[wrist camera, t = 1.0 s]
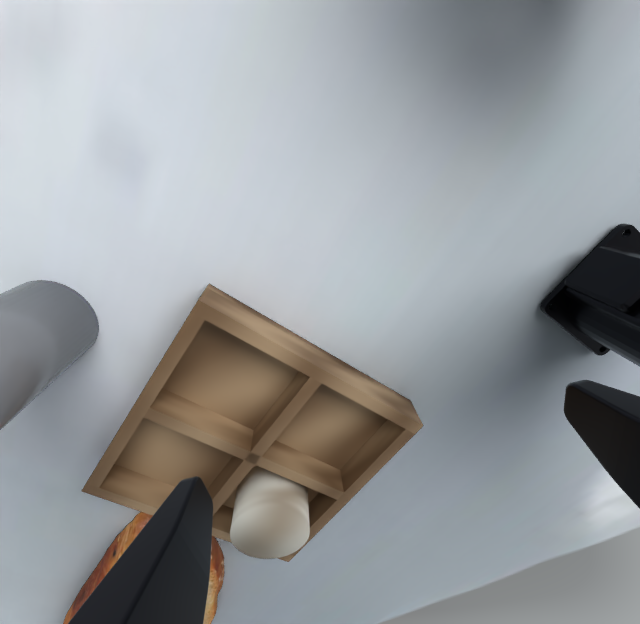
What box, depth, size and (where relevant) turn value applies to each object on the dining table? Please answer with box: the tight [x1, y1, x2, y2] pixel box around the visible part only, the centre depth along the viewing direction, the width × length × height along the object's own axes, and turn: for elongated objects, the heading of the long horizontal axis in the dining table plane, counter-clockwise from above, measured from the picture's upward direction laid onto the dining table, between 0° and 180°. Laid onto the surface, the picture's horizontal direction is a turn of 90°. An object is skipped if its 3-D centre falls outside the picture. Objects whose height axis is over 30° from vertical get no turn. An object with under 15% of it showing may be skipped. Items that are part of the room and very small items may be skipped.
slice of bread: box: [63, 512, 224, 624], centre depth 29 cm, size 18×18×4 cm
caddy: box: [82, 284, 423, 562], centre depth 22 cm, size 16×16×4 cm
